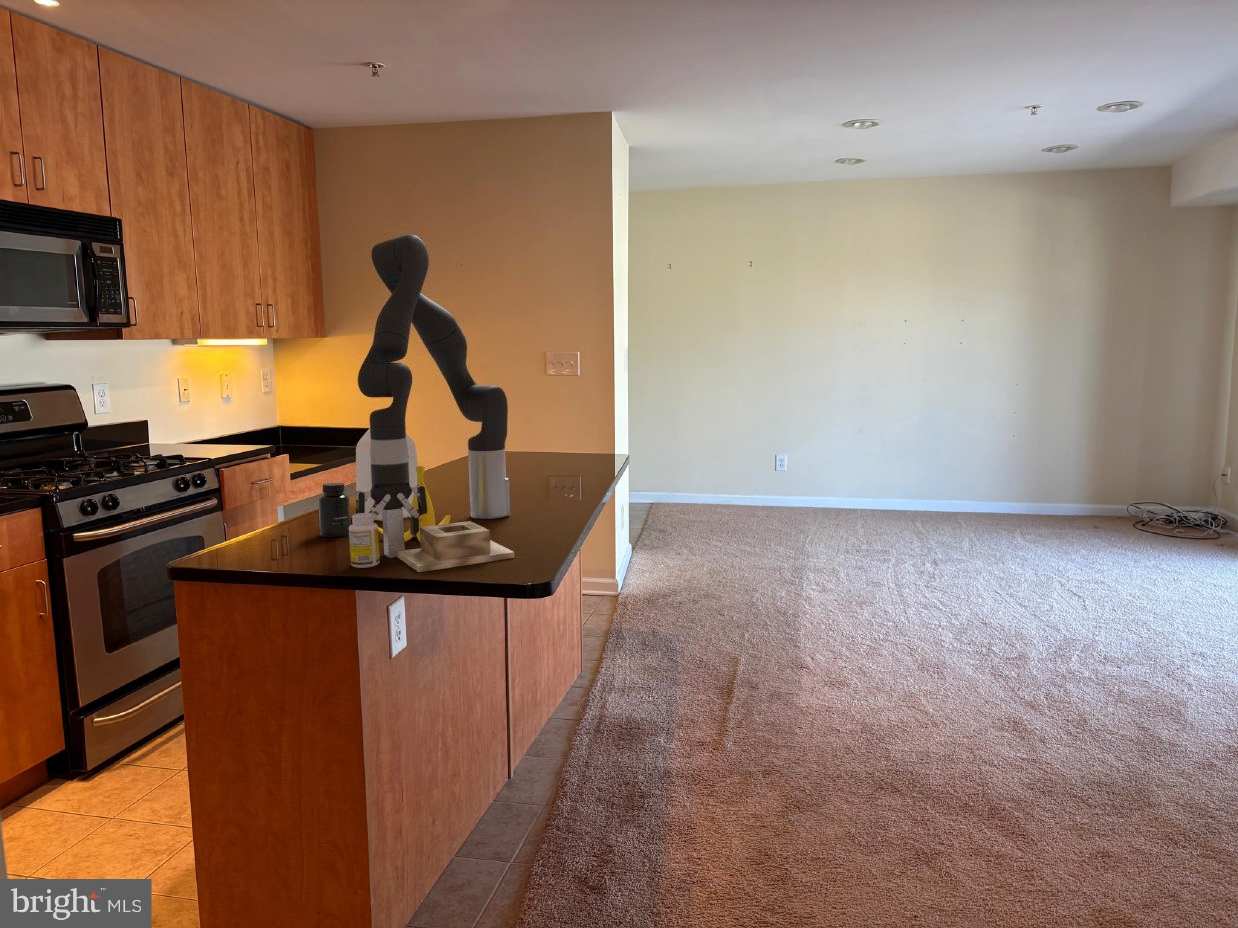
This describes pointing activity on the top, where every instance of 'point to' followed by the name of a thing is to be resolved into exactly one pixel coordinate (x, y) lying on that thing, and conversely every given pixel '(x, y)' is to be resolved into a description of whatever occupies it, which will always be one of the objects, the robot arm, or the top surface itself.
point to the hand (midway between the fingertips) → (393, 537)
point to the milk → (365, 470)
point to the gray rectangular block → (393, 531)
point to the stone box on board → (453, 547)
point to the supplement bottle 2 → (364, 541)
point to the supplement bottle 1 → (334, 511)
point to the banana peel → (429, 517)
